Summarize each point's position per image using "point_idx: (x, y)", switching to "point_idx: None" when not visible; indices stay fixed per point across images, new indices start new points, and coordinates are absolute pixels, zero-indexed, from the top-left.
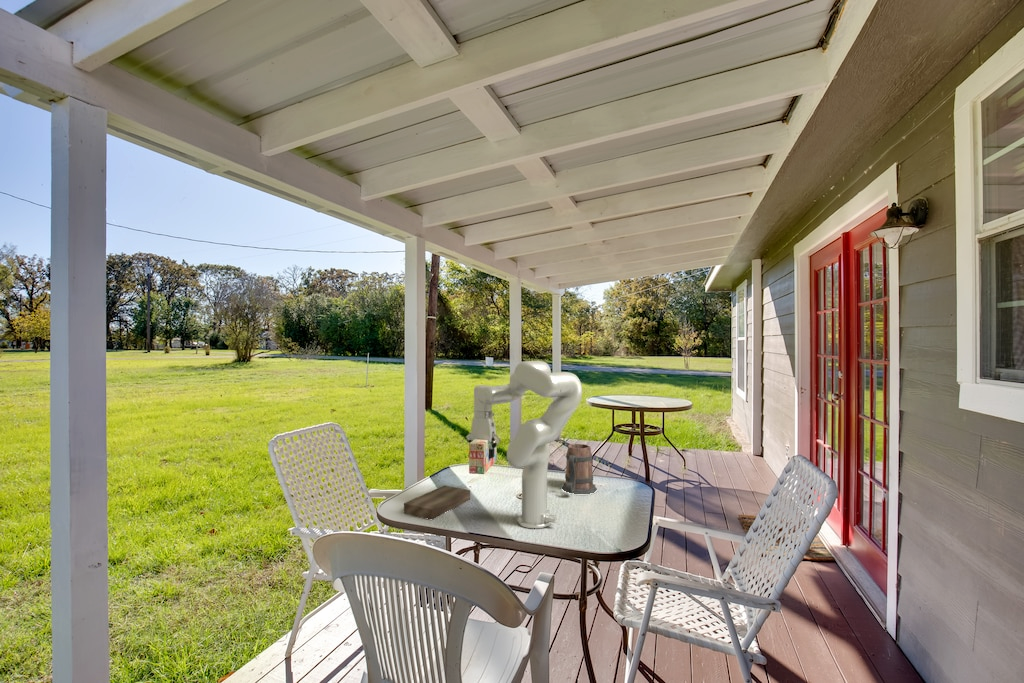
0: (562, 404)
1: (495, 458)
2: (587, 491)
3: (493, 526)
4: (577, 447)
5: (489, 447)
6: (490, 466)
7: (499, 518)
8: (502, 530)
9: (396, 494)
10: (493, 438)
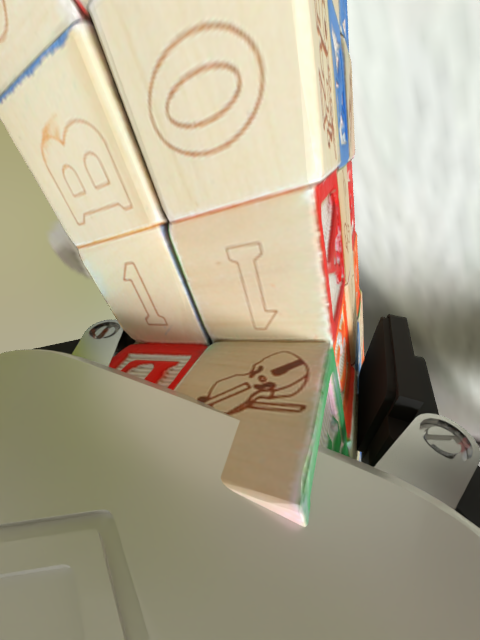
0: None
1: (344, 14)
2: None
3: (433, 388)
4: None
5: (353, 443)
6: (357, 265)
7: (444, 336)
8: (472, 408)
9: (78, 252)
10: (425, 565)
